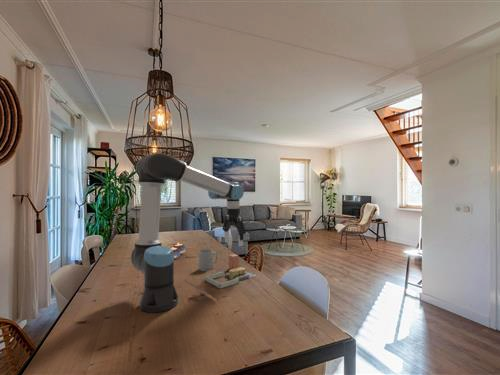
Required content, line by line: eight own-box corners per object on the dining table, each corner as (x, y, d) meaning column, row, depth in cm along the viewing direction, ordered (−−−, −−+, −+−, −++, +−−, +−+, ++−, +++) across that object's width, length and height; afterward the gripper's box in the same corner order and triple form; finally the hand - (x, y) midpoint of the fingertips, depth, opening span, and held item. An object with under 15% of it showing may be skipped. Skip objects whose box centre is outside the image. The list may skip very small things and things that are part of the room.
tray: (220, 290, 120) (220, 283, 120) (205, 282, 131) (205, 276, 131) (238, 285, 127) (238, 278, 127) (223, 277, 138) (223, 271, 138)
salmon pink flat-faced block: (233, 272, 147) (232, 256, 147) (228, 270, 150) (228, 255, 150) (238, 270, 149) (238, 255, 149) (234, 268, 153) (234, 254, 153)
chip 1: (233, 279, 131) (233, 272, 131) (228, 277, 134) (228, 270, 134) (239, 278, 133) (239, 270, 133) (234, 276, 137) (234, 268, 137)
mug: (202, 272, 147) (201, 253, 147) (196, 268, 154) (196, 250, 154) (220, 268, 153) (220, 250, 153) (214, 265, 160) (214, 247, 160)
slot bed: (236, 283, 128) (236, 278, 128) (225, 278, 136) (225, 273, 136) (256, 277, 137) (256, 272, 137) (245, 272, 145) (245, 268, 145)
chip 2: (239, 277, 134) (239, 270, 134) (235, 275, 137) (235, 268, 137) (245, 276, 136) (245, 268, 136) (241, 274, 139) (241, 267, 139)
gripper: (251, 208, 143) (252, 246, 143) (226, 206, 162) (227, 239, 162) (241, 209, 138) (241, 248, 138) (216, 207, 157) (217, 241, 157)
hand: (233, 243), depth 150 cm, fingers open, 13 cm apart
